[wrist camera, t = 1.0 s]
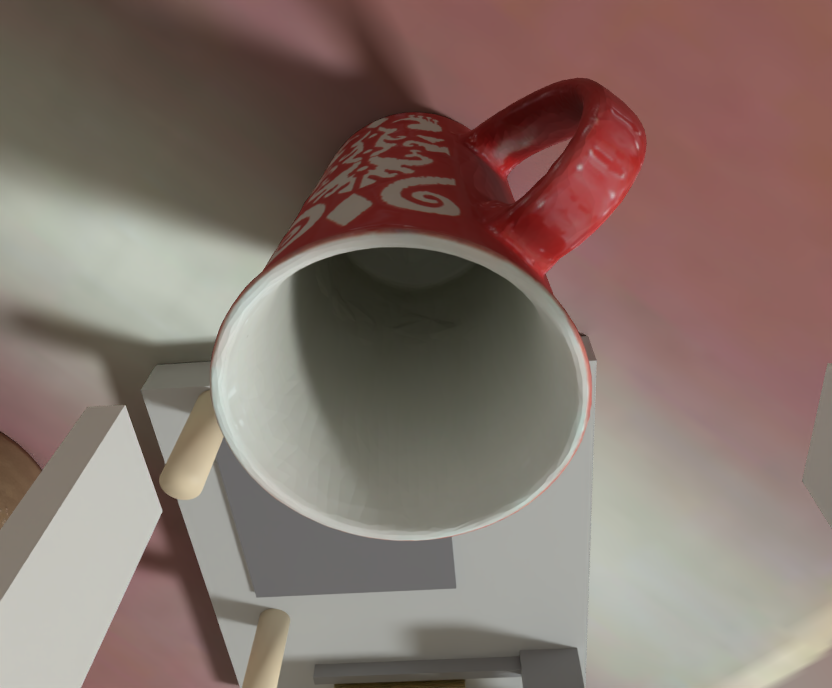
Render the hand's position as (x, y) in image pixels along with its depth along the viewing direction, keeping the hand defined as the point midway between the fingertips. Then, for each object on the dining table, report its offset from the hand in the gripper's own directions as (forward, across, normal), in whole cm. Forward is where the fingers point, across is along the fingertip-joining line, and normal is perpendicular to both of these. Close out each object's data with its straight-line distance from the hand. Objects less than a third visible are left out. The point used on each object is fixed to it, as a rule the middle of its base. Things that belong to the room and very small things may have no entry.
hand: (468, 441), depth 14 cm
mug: (+17, 0, 0) cm, 17 cm away
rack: (+16, -4, -19) cm, 25 cm away
